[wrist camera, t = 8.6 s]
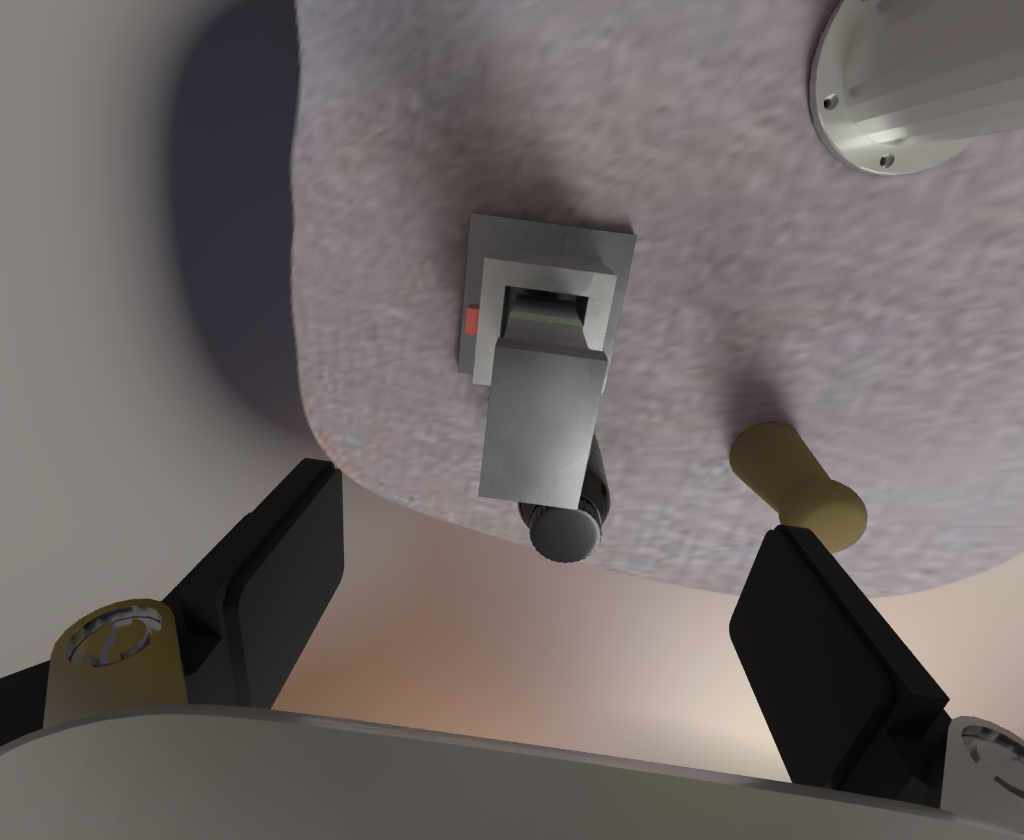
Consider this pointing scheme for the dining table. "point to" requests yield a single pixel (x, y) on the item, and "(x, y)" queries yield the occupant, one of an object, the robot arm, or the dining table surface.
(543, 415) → the column
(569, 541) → the supplement bottle
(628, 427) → the dining table surface
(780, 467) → the olive knobbed figure
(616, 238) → the stand base
